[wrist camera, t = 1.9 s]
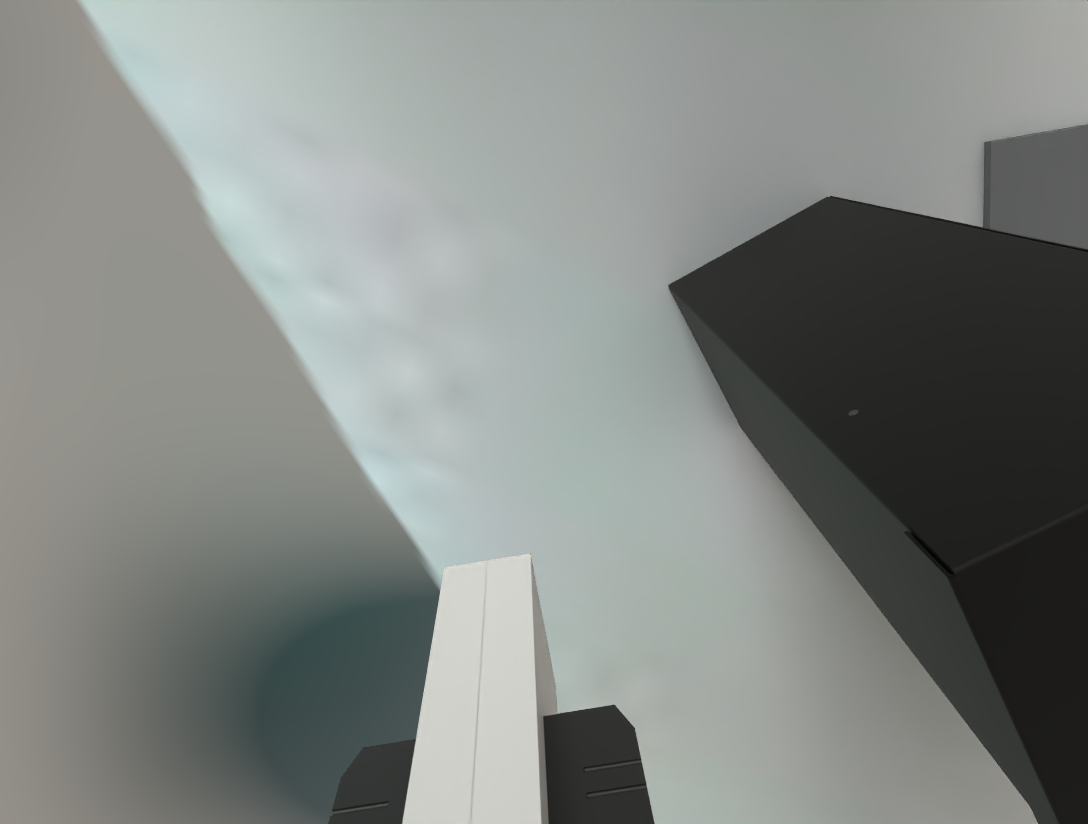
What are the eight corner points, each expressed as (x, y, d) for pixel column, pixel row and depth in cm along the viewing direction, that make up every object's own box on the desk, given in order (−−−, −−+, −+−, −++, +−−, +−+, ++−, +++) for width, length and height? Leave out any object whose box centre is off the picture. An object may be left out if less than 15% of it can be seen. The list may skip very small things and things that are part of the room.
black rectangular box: (895, 347, 37) (1844, 889, 11) (739, 429, 38) (1250, 1108, 12) (828, 192, 35) (1835, 391, 8) (663, 283, 36) (1090, 721, 9)
